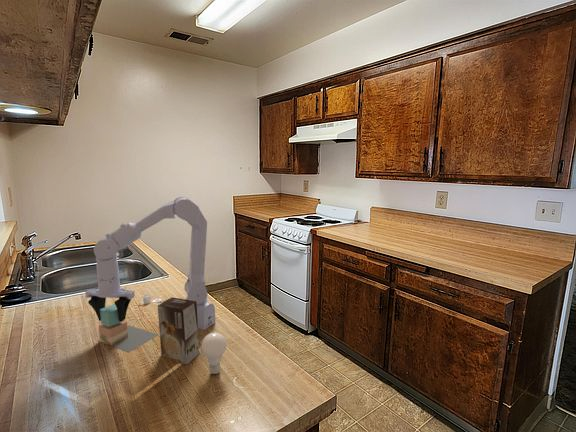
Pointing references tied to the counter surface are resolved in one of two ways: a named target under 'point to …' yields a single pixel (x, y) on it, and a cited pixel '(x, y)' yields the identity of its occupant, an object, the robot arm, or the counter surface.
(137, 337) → the slate board
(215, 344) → the lightbulb
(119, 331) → the terracotta slab
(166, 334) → the coffee box
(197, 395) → the counter surface
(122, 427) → the counter surface
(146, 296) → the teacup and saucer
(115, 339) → the maple slab
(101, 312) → the teal block
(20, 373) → the counter surface
